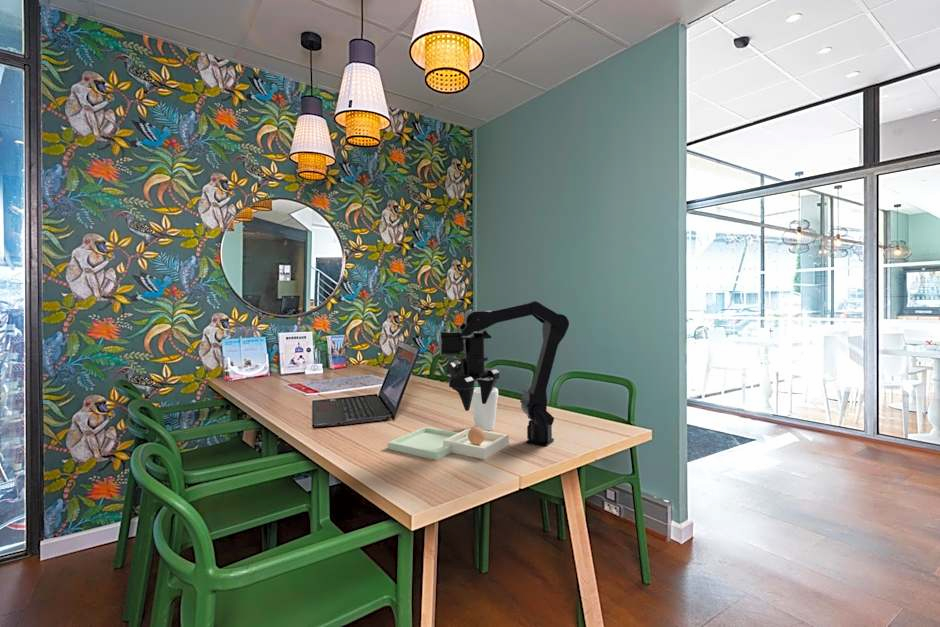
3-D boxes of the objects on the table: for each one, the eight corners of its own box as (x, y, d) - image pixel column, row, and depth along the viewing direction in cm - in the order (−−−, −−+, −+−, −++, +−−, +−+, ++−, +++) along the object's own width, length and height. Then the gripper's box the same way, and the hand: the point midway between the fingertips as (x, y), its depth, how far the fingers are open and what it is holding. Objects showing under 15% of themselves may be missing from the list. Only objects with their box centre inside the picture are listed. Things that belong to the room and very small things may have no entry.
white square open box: (508, 444, 134) (508, 434, 134) (484, 459, 122) (484, 448, 122) (469, 437, 142) (469, 427, 142) (443, 450, 130) (443, 440, 130)
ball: (488, 443, 133) (487, 426, 133) (479, 448, 129) (479, 430, 128) (473, 440, 135) (473, 424, 135) (464, 445, 131) (464, 428, 131)
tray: (472, 441, 138) (472, 435, 137) (436, 460, 122) (436, 452, 122) (425, 432, 147) (425, 426, 147) (387, 448, 132) (387, 442, 132)
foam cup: (465, 430, 150) (465, 391, 149) (478, 422, 158) (477, 386, 157) (491, 433, 145) (491, 393, 145) (503, 426, 153) (502, 388, 153)
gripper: (469, 349, 143) (470, 397, 144) (433, 356, 128) (434, 410, 129) (499, 351, 137) (500, 401, 138) (465, 358, 122) (466, 415, 122)
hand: (475, 407), depth 132 cm, fingers open, 9 cm apart
